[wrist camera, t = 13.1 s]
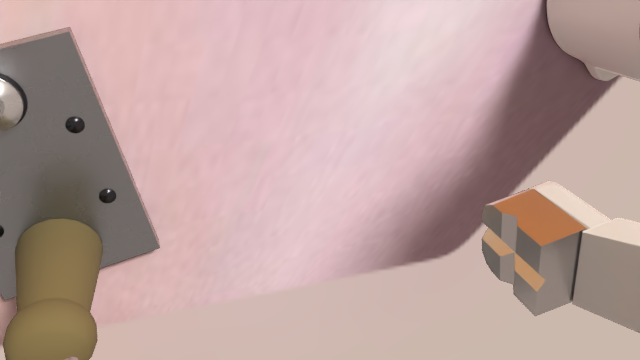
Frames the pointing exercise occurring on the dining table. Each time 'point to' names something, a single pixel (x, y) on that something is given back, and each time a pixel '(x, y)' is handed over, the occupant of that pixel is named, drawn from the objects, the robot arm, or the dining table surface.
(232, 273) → the dining table surface
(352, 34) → the dining table surface
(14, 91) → the steel pin
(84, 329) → the cork
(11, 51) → the flange plate
